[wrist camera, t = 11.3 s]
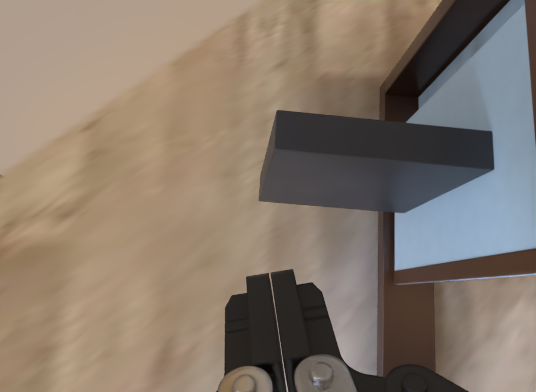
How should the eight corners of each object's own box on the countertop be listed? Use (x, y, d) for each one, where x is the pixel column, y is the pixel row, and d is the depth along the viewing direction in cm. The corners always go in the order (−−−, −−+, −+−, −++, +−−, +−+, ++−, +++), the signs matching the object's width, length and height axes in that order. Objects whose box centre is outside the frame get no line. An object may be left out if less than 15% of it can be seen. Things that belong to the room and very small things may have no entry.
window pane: (403, 285, 26) (568, 273, 13) (251, 273, 26) (274, 250, 13) (402, 133, 28) (544, -1, 16) (263, 120, 28) (292, -31, 15)
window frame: (429, 436, 26) (732, 646, 10) (376, 433, 26) (602, 644, 10) (424, 91, 31) (621, -118, 15) (379, 87, 31) (533, -130, 15)
